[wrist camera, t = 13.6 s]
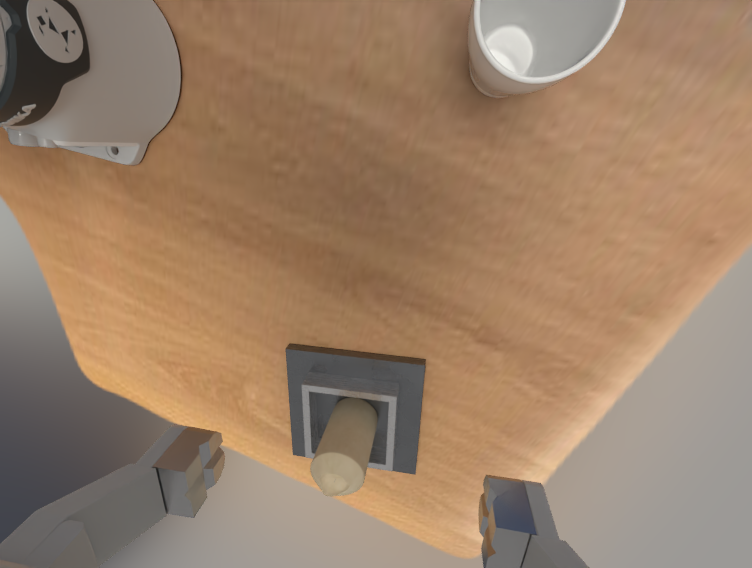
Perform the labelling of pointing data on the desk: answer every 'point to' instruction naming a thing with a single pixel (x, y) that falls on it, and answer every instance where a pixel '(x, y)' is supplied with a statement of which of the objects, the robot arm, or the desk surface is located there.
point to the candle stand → (359, 380)
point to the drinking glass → (535, 41)
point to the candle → (345, 448)
